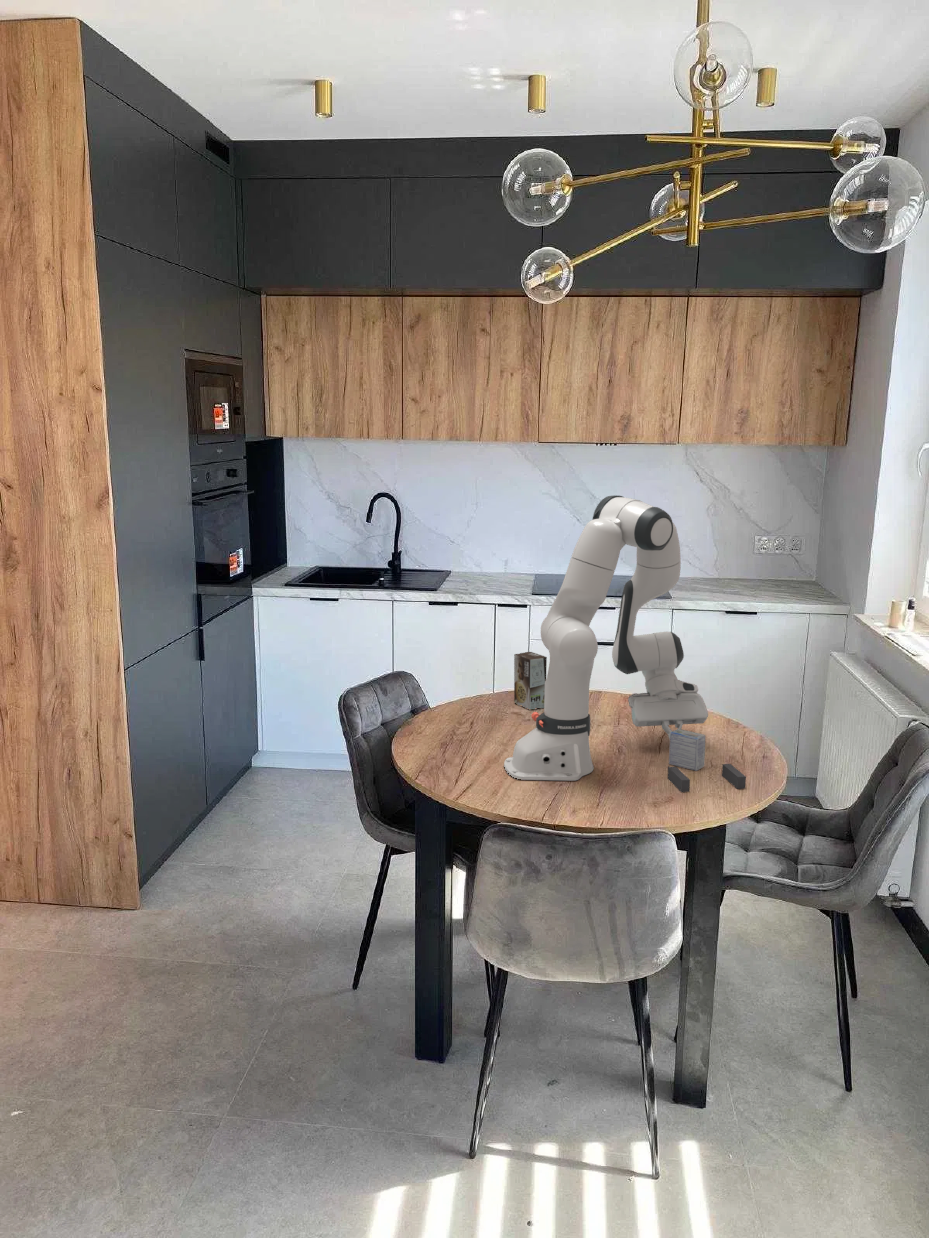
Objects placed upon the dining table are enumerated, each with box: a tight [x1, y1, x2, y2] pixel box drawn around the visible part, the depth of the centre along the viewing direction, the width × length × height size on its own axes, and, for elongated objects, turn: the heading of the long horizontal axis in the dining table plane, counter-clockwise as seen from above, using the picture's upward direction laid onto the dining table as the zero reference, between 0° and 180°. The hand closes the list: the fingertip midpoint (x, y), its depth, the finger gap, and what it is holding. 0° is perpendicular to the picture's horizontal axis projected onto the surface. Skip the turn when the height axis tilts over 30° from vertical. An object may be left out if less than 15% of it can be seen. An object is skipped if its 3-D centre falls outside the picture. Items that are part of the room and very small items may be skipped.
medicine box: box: [668, 728, 706, 772], centre depth 238 cm, size 8×4×9 cm, turn 49°
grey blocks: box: [667, 763, 747, 793], centre depth 227 cm, size 16×9×3 cm, turn 98°
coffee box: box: [513, 651, 548, 710], centre depth 290 cm, size 9×6×16 cm
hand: (675, 738), depth 246 cm, fingers closed
